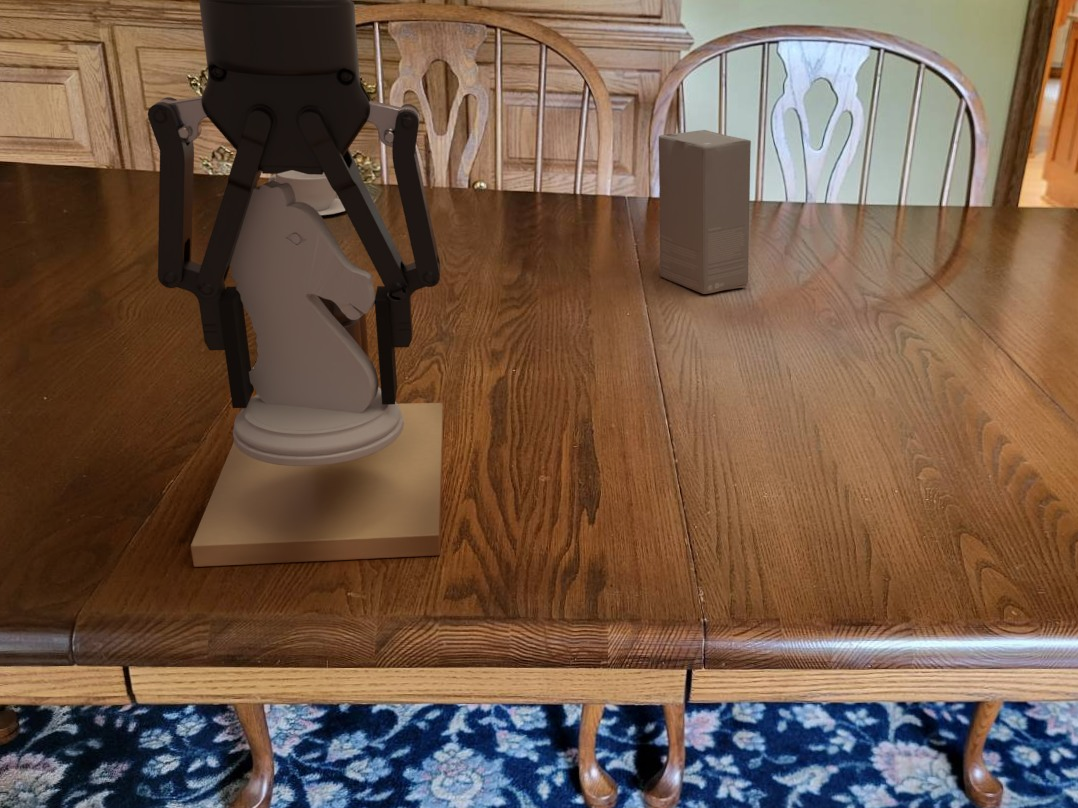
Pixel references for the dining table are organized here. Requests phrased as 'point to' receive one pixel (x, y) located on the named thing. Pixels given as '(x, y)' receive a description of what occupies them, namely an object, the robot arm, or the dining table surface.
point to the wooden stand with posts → (331, 498)
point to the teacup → (311, 191)
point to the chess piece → (305, 340)
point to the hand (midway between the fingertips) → (317, 396)
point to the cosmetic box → (704, 210)
